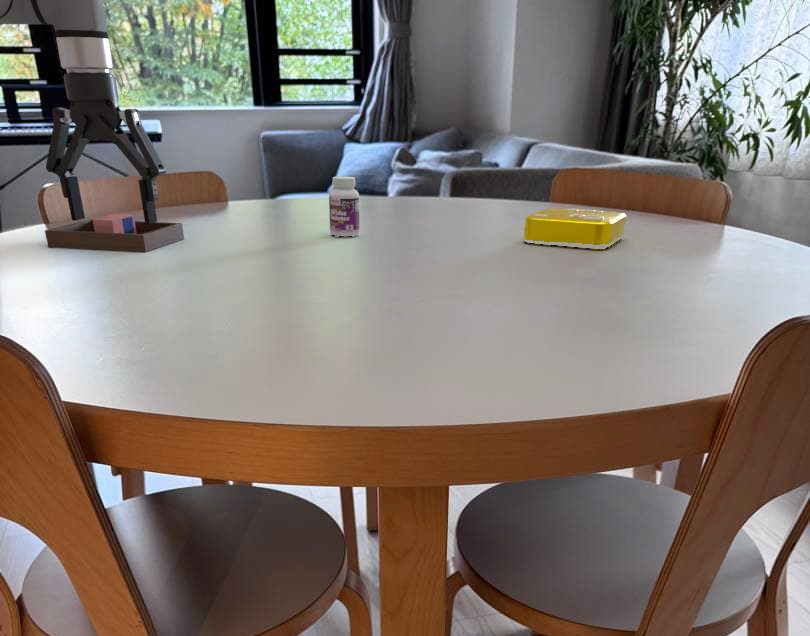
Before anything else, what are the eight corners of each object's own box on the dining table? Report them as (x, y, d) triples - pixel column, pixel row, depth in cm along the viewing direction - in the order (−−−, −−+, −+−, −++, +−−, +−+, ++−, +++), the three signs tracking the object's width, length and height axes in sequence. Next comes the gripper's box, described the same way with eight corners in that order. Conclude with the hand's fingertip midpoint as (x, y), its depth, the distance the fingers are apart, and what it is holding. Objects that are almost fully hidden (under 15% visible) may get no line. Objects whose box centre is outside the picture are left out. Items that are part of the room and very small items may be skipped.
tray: (48, 247, 124) (44, 230, 123) (93, 234, 136) (91, 219, 134) (145, 252, 121) (143, 235, 120) (184, 238, 132) (182, 223, 131)
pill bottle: (328, 237, 135) (325, 178, 130) (332, 232, 140) (330, 175, 135) (357, 238, 135) (356, 178, 130) (361, 233, 139) (360, 176, 135)
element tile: (624, 238, 137) (629, 210, 135) (605, 251, 126) (610, 220, 123) (545, 232, 143) (548, 204, 141) (520, 243, 131) (522, 214, 129)
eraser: (116, 242, 125) (112, 220, 123) (96, 242, 125) (92, 219, 124) (137, 236, 131) (134, 214, 129) (118, 235, 131) (114, 213, 130)
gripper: (174, 73, 117) (193, 220, 128) (32, 72, 121) (61, 215, 132) (150, 71, 110) (172, 227, 121) (1, 70, 115) (34, 221, 126)
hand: (114, 221), depth 127 cm, fingers open, 13 cm apart
